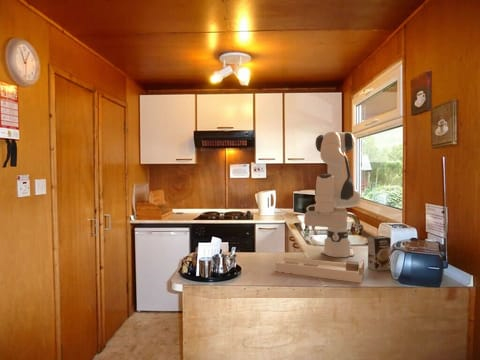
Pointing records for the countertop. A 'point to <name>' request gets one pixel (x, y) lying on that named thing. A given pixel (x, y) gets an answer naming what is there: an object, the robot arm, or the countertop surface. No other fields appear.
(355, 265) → the walnut block
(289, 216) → the countertop surface
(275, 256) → the countertop surface
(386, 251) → the coffee box
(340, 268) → the trap track
